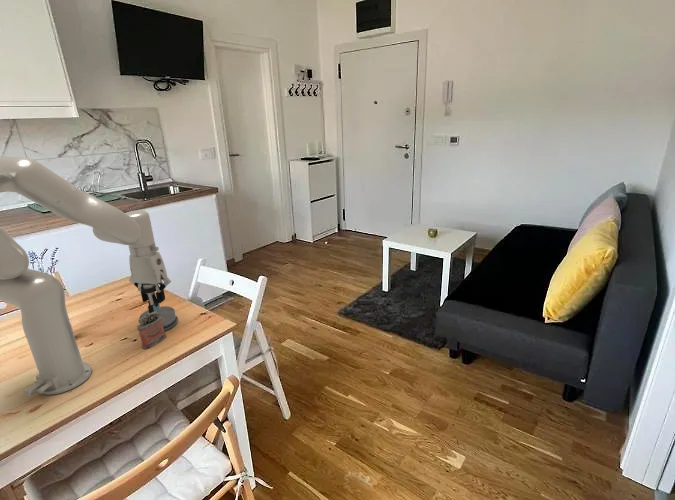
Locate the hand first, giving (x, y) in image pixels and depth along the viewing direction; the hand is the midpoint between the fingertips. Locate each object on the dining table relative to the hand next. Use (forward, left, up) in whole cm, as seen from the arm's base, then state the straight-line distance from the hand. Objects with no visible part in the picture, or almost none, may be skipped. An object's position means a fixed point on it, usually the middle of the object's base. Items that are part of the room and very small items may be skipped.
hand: (154, 300), depth 128 cm
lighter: (-10, -5, -9) cm, 15 cm away
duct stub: (0, 0, -9) cm, 9 cm away
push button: (0, 0, -4) cm, 4 cm away
